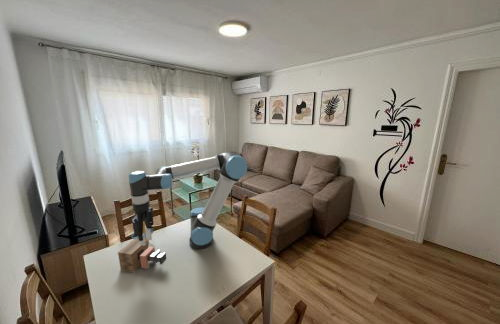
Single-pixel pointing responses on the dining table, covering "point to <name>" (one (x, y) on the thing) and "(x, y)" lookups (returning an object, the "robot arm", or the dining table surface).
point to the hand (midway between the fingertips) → (146, 242)
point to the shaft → (155, 257)
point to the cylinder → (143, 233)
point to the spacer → (144, 256)
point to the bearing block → (131, 255)
